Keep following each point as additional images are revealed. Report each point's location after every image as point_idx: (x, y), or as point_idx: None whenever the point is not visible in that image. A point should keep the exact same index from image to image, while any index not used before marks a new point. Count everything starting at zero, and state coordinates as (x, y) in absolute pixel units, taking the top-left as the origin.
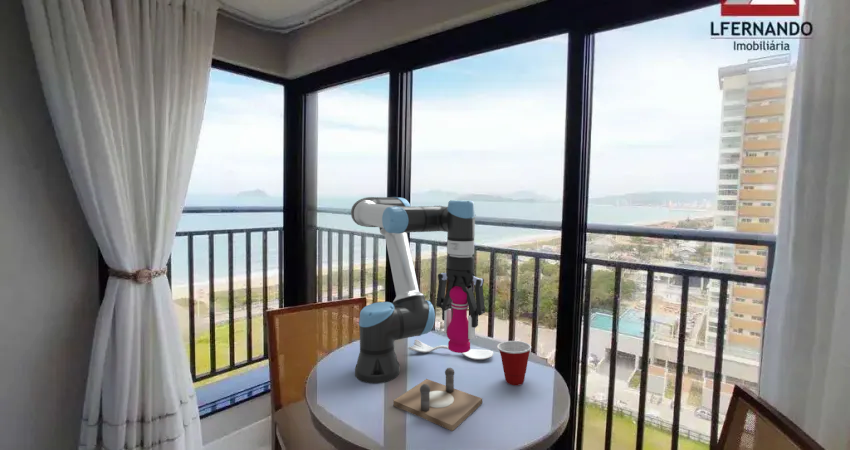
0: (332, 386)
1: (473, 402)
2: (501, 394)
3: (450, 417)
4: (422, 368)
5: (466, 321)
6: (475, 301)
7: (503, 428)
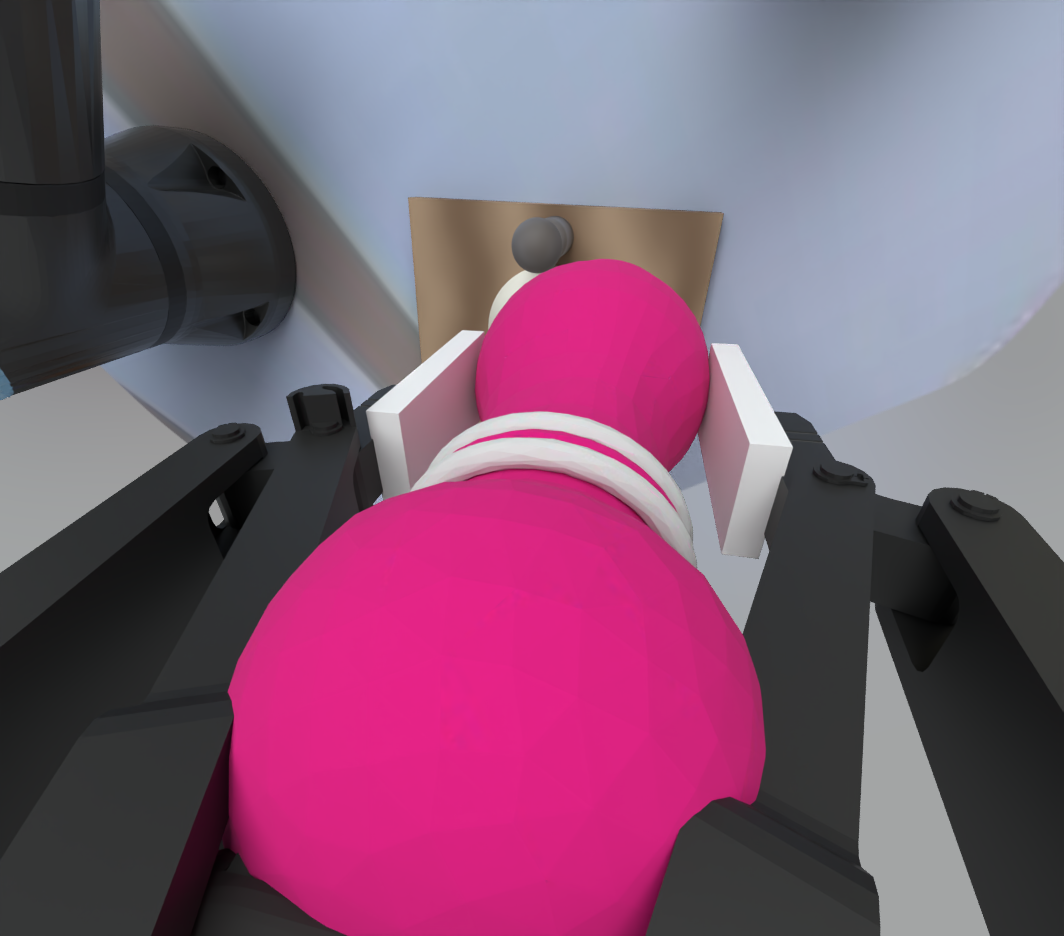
0: (212, 411)
1: (694, 273)
2: (802, 43)
3: None
4: (295, 49)
5: (668, 459)
6: (866, 602)
7: (851, 344)
